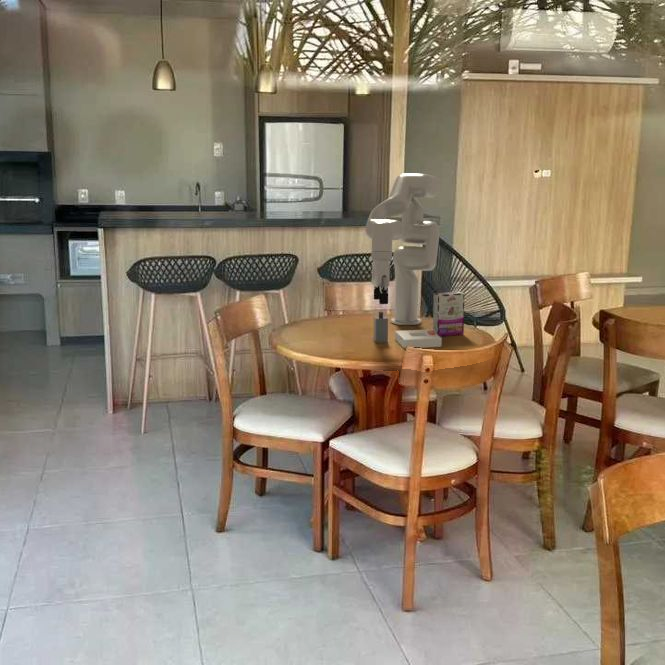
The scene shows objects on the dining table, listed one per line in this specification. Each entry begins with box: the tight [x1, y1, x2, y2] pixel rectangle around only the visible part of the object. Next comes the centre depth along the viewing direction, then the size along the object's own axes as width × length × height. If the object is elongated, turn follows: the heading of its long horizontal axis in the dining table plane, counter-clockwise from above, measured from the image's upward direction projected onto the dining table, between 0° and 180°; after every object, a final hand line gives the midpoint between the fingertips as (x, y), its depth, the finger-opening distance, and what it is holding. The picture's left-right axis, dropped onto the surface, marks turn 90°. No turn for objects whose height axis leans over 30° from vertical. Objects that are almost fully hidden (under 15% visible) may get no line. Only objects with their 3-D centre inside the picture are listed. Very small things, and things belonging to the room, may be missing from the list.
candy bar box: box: [432, 291, 465, 337], centre depth 295 cm, size 11×5×16 cm, turn 106°
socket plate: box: [394, 328, 443, 349], centre depth 284 cm, size 14×14×4 cm
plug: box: [373, 311, 389, 343], centre depth 286 cm, size 4×4×11 cm
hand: (380, 301), depth 284 cm, fingers open, 9 cm apart
